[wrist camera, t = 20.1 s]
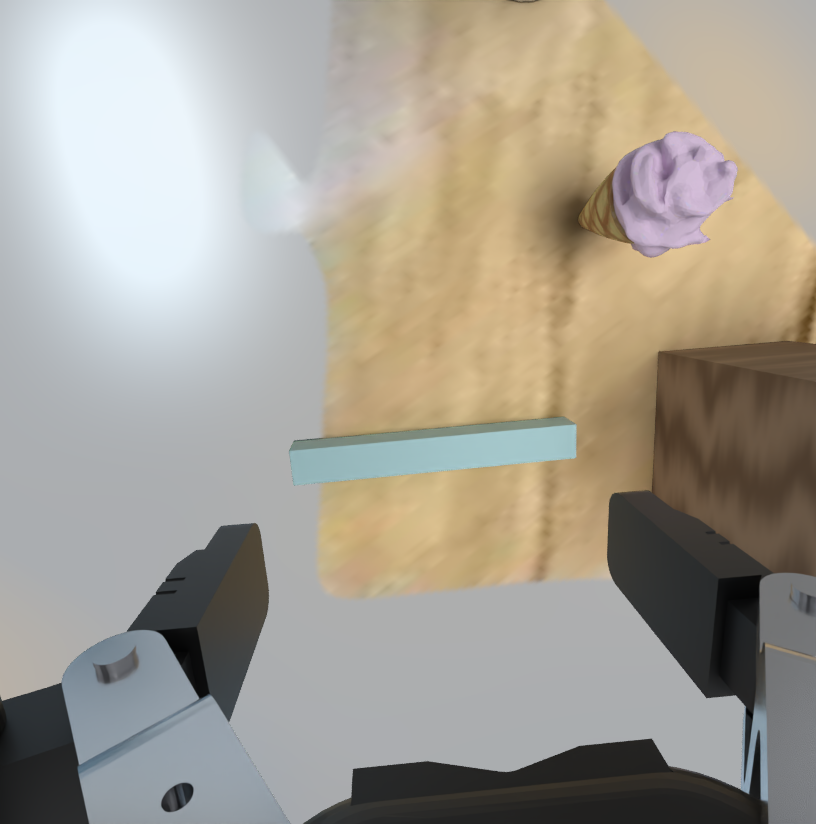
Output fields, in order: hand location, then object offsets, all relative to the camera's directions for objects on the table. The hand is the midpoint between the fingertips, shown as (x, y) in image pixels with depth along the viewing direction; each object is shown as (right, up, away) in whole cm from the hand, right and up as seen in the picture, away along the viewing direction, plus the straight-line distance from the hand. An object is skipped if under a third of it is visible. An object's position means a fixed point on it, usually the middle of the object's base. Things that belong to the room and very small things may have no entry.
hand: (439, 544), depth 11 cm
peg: (+1, 0, +33) cm, 33 cm away
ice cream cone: (+14, +19, +30) cm, 38 cm away
